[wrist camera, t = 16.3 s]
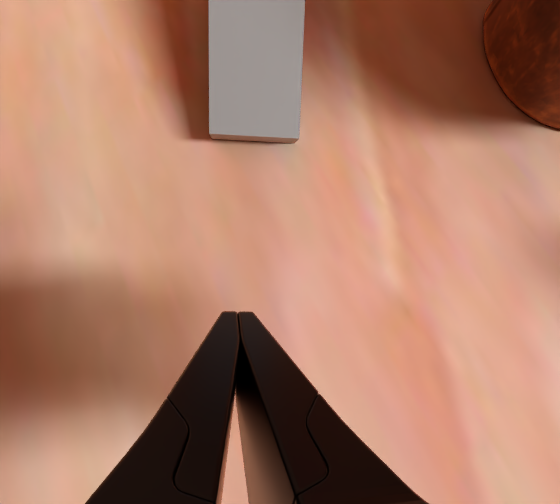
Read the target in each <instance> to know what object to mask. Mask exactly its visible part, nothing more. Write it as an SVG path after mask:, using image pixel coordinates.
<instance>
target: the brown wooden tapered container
mask: <svg viewBox="0 0 560 504" xmlns="http://www.w3.org/2000/svg"><path fill="white" fill-rule="evenodd" d="M483 26H484V47H485V52H486V55H487V59H488V61H489V64H490V67H491V69H492V71H493V73H494V75H495V77H496V79H497V81H498V83H499V85H500V86H501V88H502V89H503V91H504V92H505V94H506V95H507V96H508V98H509V99H510V100H511V101H512V102H513V103H514V104H515V105H516V106H517V107H518V108H519V109H521V110H522V111H523V112H524V113H526V114H527V115H528V116H530V117H532V118H533V119H535V120H537V121H538V122H541V123H543V124H545V125H548V126H551V127H555V128H559V129H560V0H493V1H492V2H491V4H490V5H489V7H488V9H487V10H486V12H485V15H484V20H483Z"/></svg>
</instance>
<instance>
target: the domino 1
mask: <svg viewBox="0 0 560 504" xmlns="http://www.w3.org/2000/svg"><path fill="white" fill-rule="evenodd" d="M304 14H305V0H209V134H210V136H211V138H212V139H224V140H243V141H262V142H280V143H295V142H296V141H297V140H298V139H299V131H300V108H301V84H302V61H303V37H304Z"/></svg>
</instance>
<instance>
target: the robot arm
mask: <svg viewBox="0 0 560 504" xmlns="http://www.w3.org/2000/svg"><path fill="white" fill-rule="evenodd" d="M235 395H236V405H237V413H238V421H239V429H240V437H241V445H242V453H243V460H244V468H245V476H246V484H247V492H248V500H249V504H429V503H428V502H426V501H425V500H423V499H422V498H421V497H420V496H418V495H417V494H416V493H415V492H414V491H413V490H412V489H410V488H409V487H408V486H407V485H406V484H405V483H404V482H403V481H402V480H401V479H400V478H399V477H398V476H397V475H396V474H395V473H394V472H393V471H392V470H391V469H390V468H389V467H388V466H387V465H386V464H385V463H384V462H383V461H382V460H381V459H380V458H379V457H378V456H377V455H376V454H375V453H374V452H373V451H372V450H371V449H370V448H369V447H368V446H367V445H366V444H365V443H364V442H363V441H362V440H361V439H360V438H359V437H358V436H357V435H356V434H355V433H354V432H353V431H352V430H351V429H350V428H349V427H348V426H347V425H346V424H345V423H344V422H343V420H342V419H341V418H340V417H339V416H338V415H337V413H336V412H335V411H334V410H333V409H332V408H331V407H330V405H329V404H328V403H327V402H326V401H325V399H324V398H323V397H322V396H321V395H320V394H318V391H317V390H316V389H315V387H314V386H313V385H312V384H311V382H310V381H309V380H308V379H307V378H306V376H305V375H304V374H303V373H302V371H301V370H300V369H299V368H298V367H297V365H296V364H295V363H294V362H293V360H292V359H291V358H290V357H289V356H288V354H287V353H286V352H285V351H284V349H283V348H282V347H281V346H280V345H279V343H278V342H277V341H276V340H275V338H274V337H273V336H272V335H271V334H270V332H269V331H268V330H267V329H266V327H265V326H264V325H263V324H262V323H261V321H260V320H259V319H258V318H257V316H256V315H255V314H254V313H253V312H239V313H238V314H237V312H235V311H223V312H222V313H221V314H220V316H219V317H218V319H217V321H216V322H215V324H214V325H213V327H212V328H211V330H210V331H209V333H208V334H207V336H206V338H205V339H204V341H203V342H202V344H201V345H200V347H199V348H198V350H197V351H196V353H195V354H194V356H193V358H192V359H191V361H190V362H189V364H188V365H187V367H186V368H185V370H184V371H183V373H182V375H181V376H180V378H179V379H178V381H177V382H176V384H175V385H174V387H173V388H172V390H171V392H170V393H169V395H168V396H167V399H166V400H165V401H164V402H163V404H162V405H161V407H160V408H159V410H158V411H157V413H156V414H155V416H154V417H153V419H152V420H151V421H150V423H149V424H148V426H147V427H146V429H145V430H144V432H143V433H142V434H141V435H140V437H139V438H138V439H137V441H136V442H135V443H134V444H133V446H132V447H131V448H130V449H129V451H128V452H127V453H126V455H125V456H124V457H123V458H122V459H121V461H120V462H119V463H118V464H117V465H116V467H115V468H114V469H113V470H112V471H111V473H110V474H109V475H108V476H107V478H106V479H105V480H104V481H103V482H102V484H101V485H100V486H99V487H98V488H97V490H96V491H95V492H94V493H93V494H92V496H91V497H90V498H89V499H88V500H87V502H86V503H85V504H221V500H222V492H223V484H224V476H225V468H226V461H227V453H228V445H229V437H230V429H231V421H232V413H233V405H234V396H235Z"/></svg>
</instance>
